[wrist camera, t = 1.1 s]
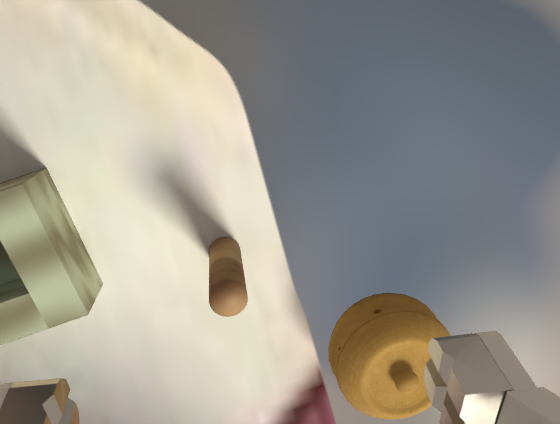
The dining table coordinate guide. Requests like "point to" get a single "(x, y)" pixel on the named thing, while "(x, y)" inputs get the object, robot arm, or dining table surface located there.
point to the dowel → (226, 278)
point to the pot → (384, 354)
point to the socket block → (40, 260)
